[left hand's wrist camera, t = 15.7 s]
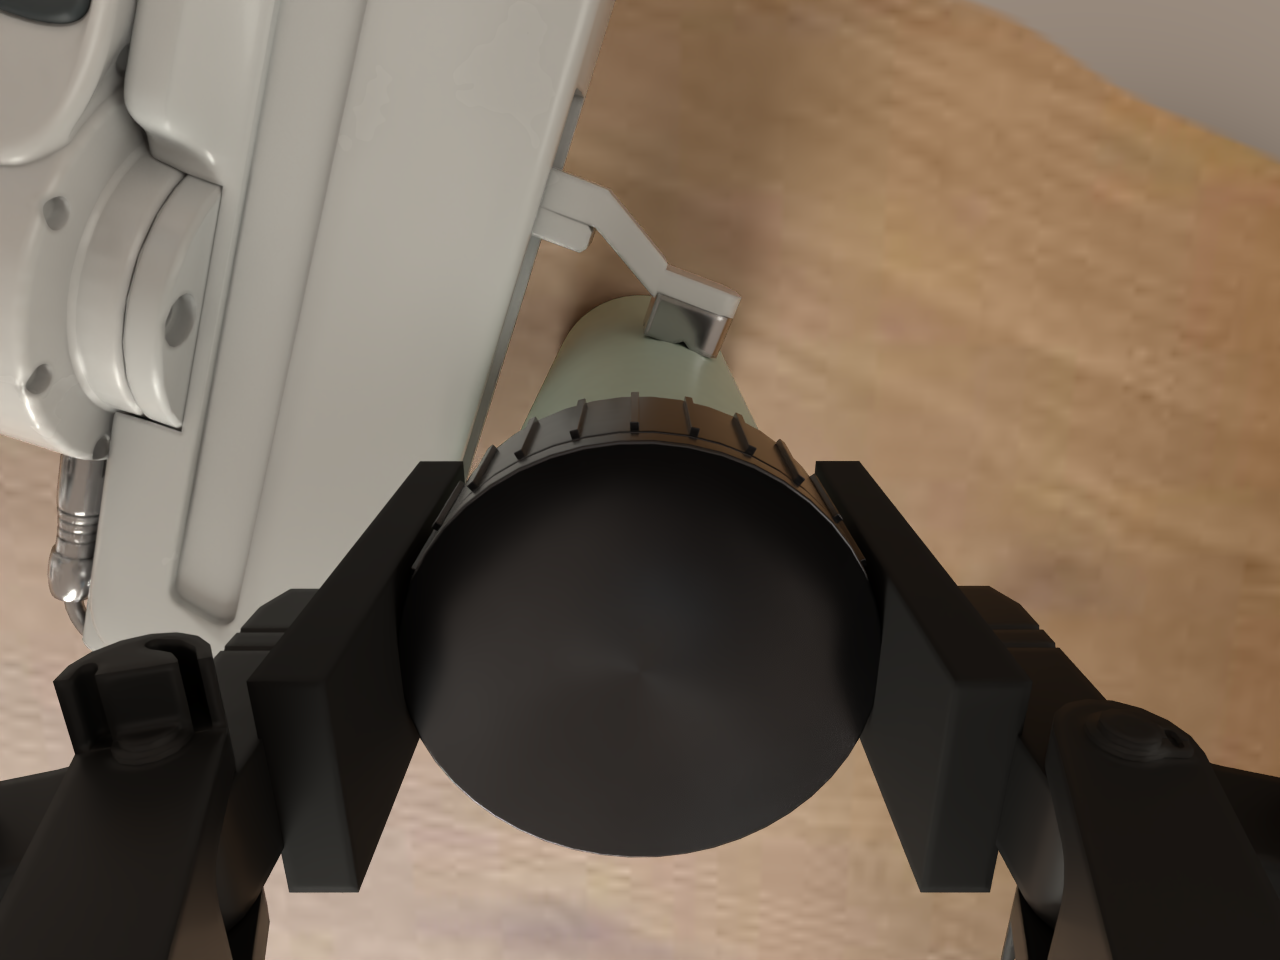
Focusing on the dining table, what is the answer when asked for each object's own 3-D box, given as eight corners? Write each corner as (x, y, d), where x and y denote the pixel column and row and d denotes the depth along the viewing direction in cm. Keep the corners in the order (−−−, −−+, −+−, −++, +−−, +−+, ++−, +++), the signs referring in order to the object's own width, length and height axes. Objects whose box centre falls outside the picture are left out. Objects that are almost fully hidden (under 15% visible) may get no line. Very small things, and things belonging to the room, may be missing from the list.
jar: (587, 481, 26) (524, 839, 12) (530, 325, 24) (375, 527, 10) (743, 433, 26) (875, 749, 11) (697, 271, 24) (783, 403, 10)
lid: (923, 640, 12) (976, 725, 10) (592, 821, 14) (585, 927, 12) (701, 298, 11) (716, 325, 9) (342, 545, 12) (285, 617, 10)
